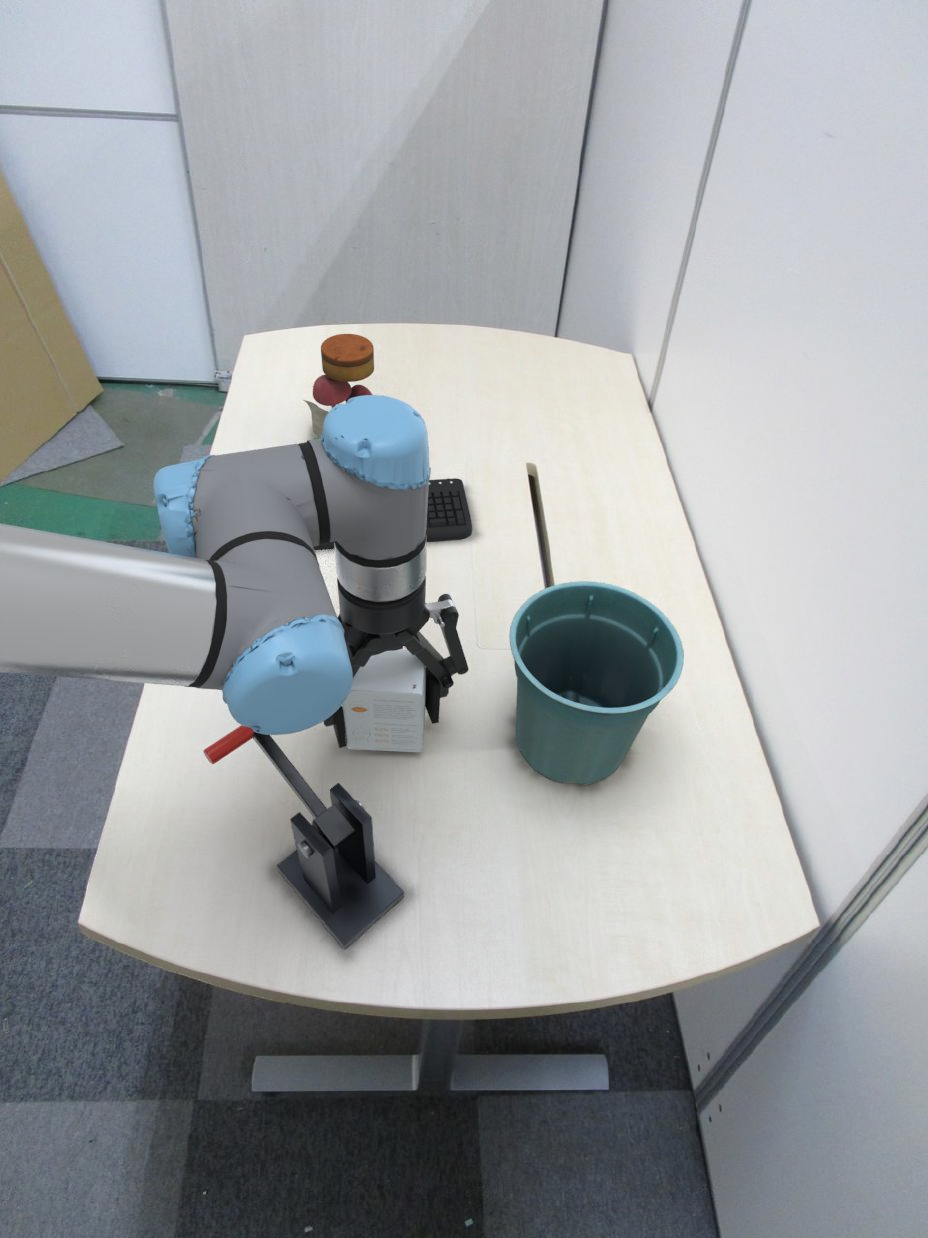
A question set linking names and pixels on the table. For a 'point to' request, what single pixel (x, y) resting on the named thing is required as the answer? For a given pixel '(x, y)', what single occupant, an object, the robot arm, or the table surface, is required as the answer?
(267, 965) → the table surface
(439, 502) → the keyboard
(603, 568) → the table surface
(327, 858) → the bracket
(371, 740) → the small box
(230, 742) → the lever
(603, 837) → the table surface
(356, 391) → the multicoloured stacked piece
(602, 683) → the flower pot
